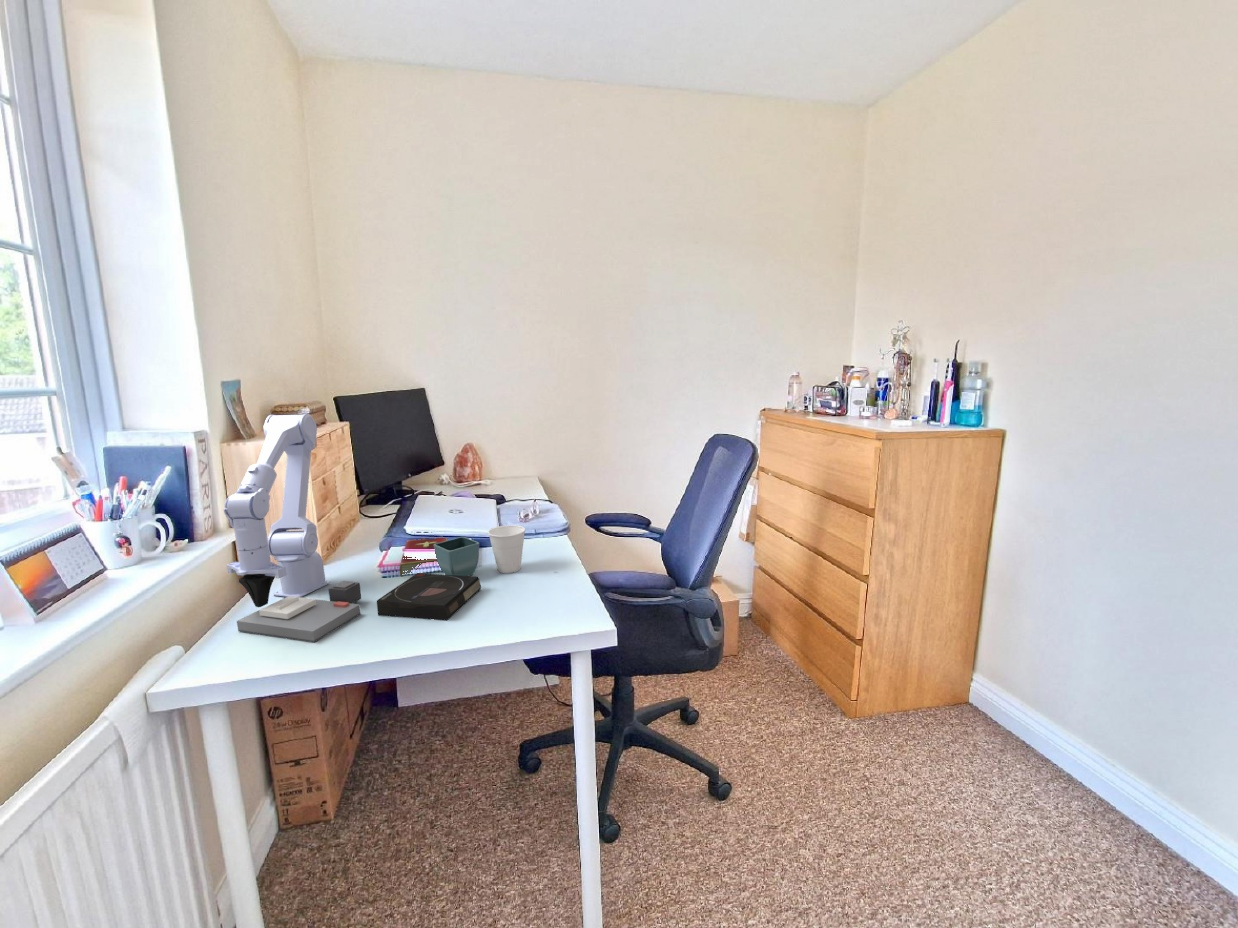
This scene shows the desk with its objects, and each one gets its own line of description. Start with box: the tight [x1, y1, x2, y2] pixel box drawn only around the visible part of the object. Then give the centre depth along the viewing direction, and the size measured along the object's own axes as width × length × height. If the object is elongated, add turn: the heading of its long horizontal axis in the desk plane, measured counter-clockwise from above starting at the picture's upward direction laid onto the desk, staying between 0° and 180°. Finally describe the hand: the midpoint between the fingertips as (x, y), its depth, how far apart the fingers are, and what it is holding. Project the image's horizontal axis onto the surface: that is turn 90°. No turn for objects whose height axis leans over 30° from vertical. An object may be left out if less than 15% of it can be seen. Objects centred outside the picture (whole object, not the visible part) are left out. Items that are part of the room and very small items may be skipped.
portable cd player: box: [376, 573, 482, 621], centre depth 130 cm, size 16×17×4 cm
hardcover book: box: [399, 537, 449, 577], centre depth 158 cm, size 12×21×4 cm, turn 16°
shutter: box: [259, 596, 316, 619], centre depth 121 cm, size 8×8×2 cm
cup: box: [487, 524, 527, 574], centre depth 148 cm, size 10×10×11 cm
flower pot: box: [434, 536, 480, 576], centre depth 145 cm, size 9×9×9 cm
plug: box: [328, 580, 362, 604], centre depth 129 cm, size 5×5×5 cm
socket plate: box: [236, 597, 362, 643], centre depth 121 cm, size 13×20×3 cm, turn 74°
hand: (261, 605), depth 123 cm, fingers closed
